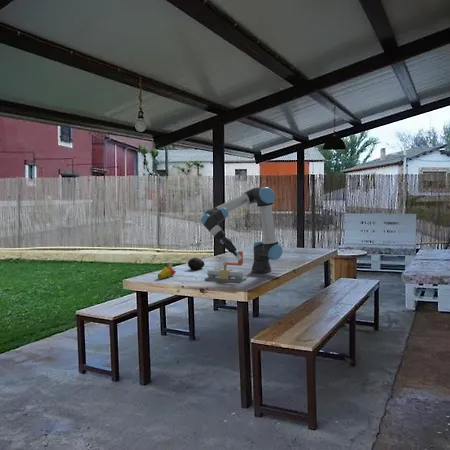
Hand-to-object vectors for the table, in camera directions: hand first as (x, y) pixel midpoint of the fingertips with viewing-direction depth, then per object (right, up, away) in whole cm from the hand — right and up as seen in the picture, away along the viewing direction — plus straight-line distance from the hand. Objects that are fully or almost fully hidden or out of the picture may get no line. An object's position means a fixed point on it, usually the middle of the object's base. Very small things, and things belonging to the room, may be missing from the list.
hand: (240, 259), depth 326 cm
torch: (-53, -16, +27) cm, 62 cm away
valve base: (-10, -15, +10) cm, 21 cm away
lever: (-5, -4, +7) cm, 10 cm away
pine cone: (-33, -13, +64) cm, 74 cm away
